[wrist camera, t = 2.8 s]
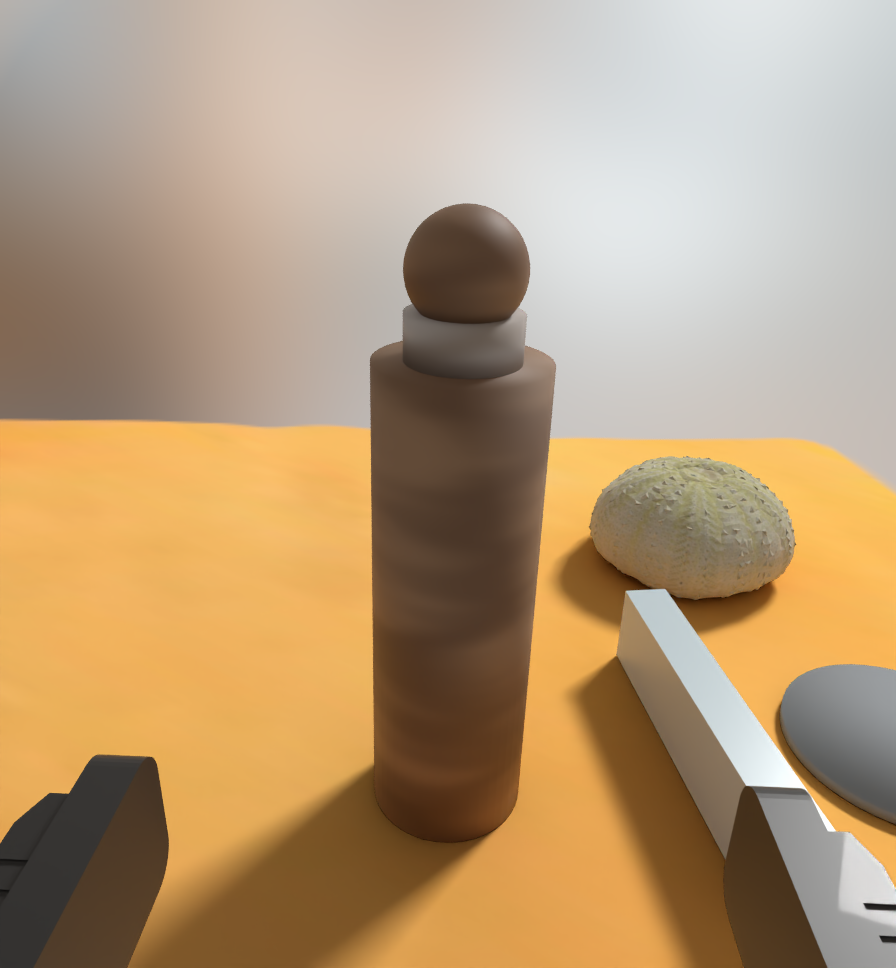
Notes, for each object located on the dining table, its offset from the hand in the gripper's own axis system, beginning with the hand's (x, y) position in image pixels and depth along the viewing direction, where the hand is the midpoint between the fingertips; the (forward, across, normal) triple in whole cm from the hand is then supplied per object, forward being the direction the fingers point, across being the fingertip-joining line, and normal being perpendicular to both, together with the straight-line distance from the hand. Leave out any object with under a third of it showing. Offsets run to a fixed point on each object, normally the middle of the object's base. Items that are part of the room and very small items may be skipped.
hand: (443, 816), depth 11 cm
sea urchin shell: (+27, -11, +11) cm, 31 cm away
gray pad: (+14, -16, +11) cm, 24 cm away
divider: (+13, -8, +11) cm, 19 cm away
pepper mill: (+12, 0, +11) cm, 16 cm away
